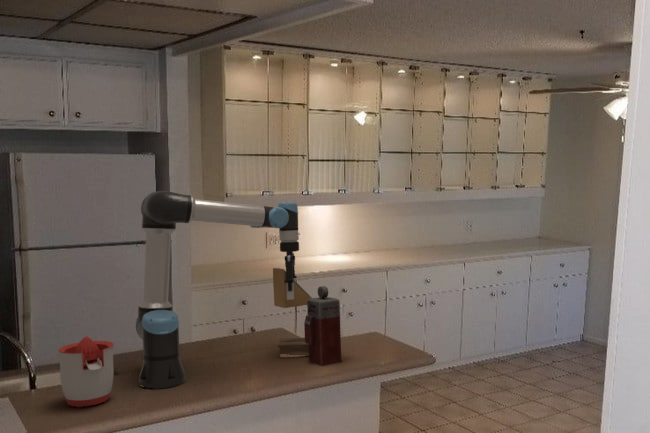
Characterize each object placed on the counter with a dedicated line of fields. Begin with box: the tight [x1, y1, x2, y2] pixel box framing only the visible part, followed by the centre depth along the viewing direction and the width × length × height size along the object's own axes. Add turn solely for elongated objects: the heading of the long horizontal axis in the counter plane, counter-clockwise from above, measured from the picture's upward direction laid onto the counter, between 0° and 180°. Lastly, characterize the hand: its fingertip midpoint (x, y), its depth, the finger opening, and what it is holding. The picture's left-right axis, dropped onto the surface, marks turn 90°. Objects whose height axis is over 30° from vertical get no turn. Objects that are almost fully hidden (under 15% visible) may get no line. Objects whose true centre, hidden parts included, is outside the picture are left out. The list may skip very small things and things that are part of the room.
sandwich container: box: [272, 267, 313, 309], centre depth 234 cm, size 9×15×15 cm, turn 125°
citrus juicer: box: [57, 336, 114, 408], centre depth 180 cm, size 16×17×20 cm
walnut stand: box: [277, 337, 309, 356], centre depth 233 cm, size 12×19×5 cm, turn 90°
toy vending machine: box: [303, 285, 342, 367], centre depth 219 cm, size 9×11×28 cm
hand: (291, 297), depth 233 cm, fingers closed on sandwich container, 11 cm apart
